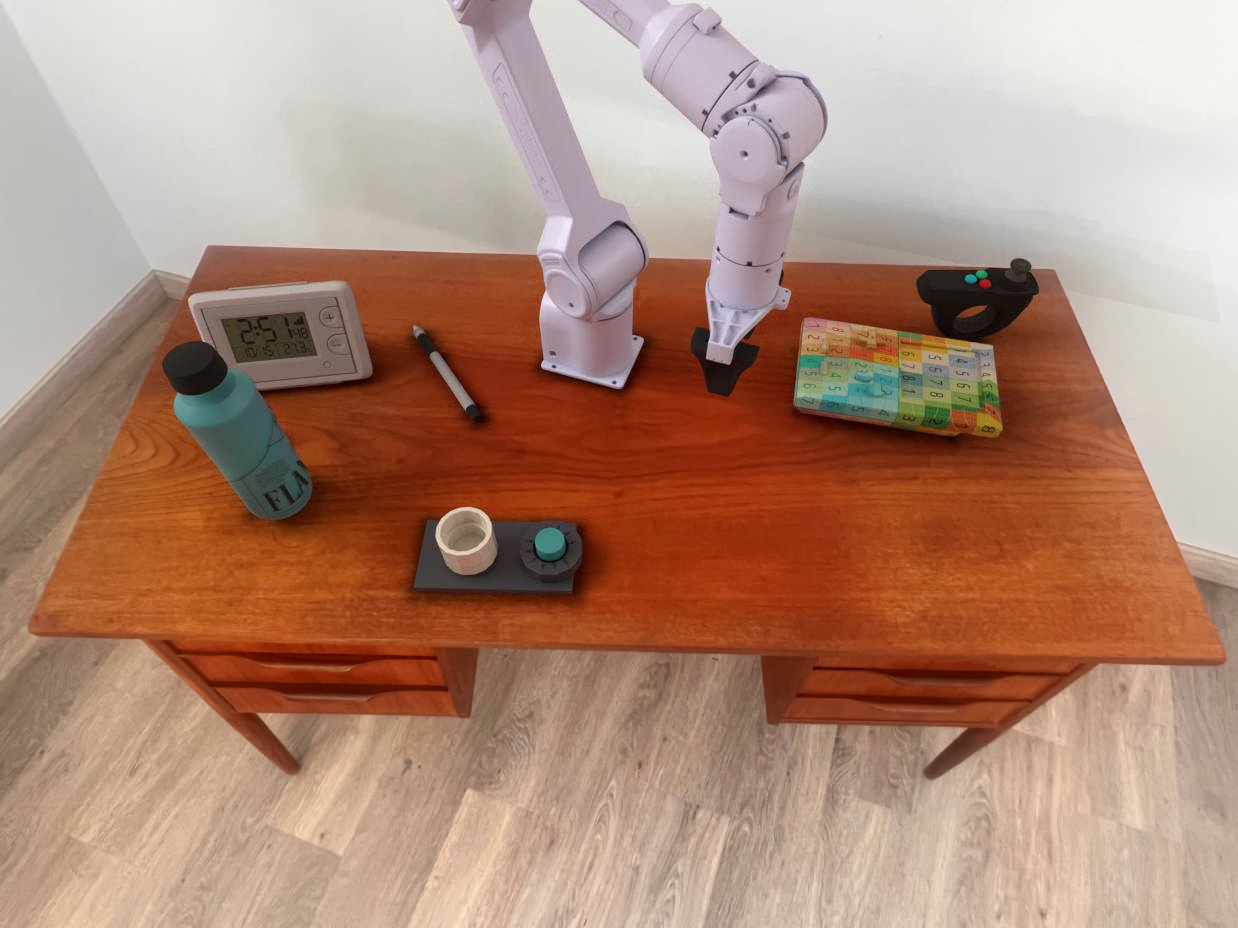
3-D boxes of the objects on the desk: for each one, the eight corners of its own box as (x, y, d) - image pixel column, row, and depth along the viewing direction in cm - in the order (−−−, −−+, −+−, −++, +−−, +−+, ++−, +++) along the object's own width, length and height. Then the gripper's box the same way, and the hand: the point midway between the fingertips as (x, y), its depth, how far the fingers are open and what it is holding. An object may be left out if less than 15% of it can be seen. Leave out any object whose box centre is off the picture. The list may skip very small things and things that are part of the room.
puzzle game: (805, 311, 80) (996, 339, 78) (796, 342, 84) (979, 369, 81) (797, 391, 73) (1007, 424, 71) (788, 421, 77) (987, 453, 75)
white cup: (435, 568, 66) (425, 545, 63) (459, 524, 69) (451, 500, 65) (484, 584, 65) (476, 562, 62) (506, 539, 68) (500, 515, 65)
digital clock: (216, 397, 79) (167, 324, 70) (246, 337, 84) (204, 262, 76) (365, 404, 78) (334, 332, 70) (386, 343, 84) (360, 269, 75)
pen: (473, 425, 77) (471, 417, 76) (409, 330, 85) (406, 322, 84) (484, 419, 77) (482, 411, 76) (419, 326, 85) (417, 318, 84)
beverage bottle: (285, 542, 69) (181, 403, 52) (235, 510, 71) (121, 366, 55) (335, 492, 72) (252, 347, 56) (287, 463, 74) (193, 314, 58)
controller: (1012, 347, 83) (1055, 278, 75) (902, 345, 84) (933, 276, 75) (1002, 321, 86) (1042, 251, 78) (895, 319, 86) (924, 249, 78)
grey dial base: (415, 592, 66) (409, 579, 64) (429, 524, 70) (423, 510, 68) (580, 595, 66) (579, 583, 64) (584, 527, 70) (583, 513, 68)
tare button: (535, 561, 65) (533, 552, 64) (537, 535, 67) (536, 527, 66) (564, 561, 65) (563, 553, 64) (566, 536, 67) (565, 527, 65)
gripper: (780, 315, 53) (753, 431, 65) (817, 200, 61) (787, 321, 72) (687, 293, 55) (675, 410, 66) (735, 184, 63) (717, 304, 74)
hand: (729, 362), depth 69 cm, fingers open, 7 cm apart
